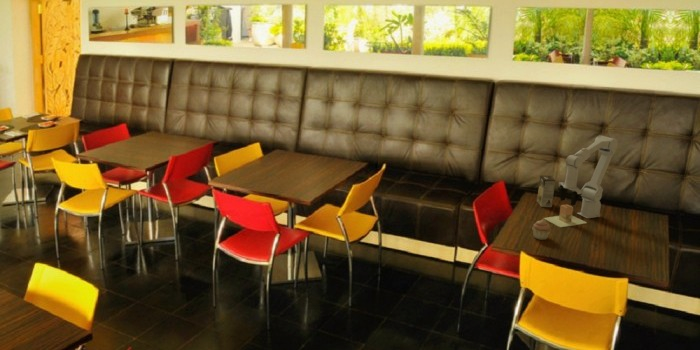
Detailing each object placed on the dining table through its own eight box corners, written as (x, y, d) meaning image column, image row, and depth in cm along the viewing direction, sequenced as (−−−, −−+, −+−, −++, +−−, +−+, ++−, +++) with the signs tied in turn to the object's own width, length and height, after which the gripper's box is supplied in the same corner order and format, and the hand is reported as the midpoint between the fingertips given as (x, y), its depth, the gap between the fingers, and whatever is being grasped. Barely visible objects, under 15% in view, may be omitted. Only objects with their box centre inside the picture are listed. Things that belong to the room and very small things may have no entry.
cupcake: (533, 232, 301) (535, 213, 298) (552, 236, 296) (554, 217, 293) (528, 238, 293) (530, 219, 290) (547, 243, 289) (550, 223, 286)
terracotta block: (566, 211, 319) (567, 204, 317) (572, 214, 315) (573, 207, 314) (559, 212, 317) (560, 205, 316) (565, 215, 313) (566, 208, 312)
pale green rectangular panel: (569, 214, 326) (569, 214, 326) (587, 223, 315) (587, 222, 315) (543, 218, 319) (543, 217, 319) (560, 227, 308) (560, 226, 308)
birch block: (565, 218, 320) (566, 211, 319) (571, 221, 316) (572, 214, 315) (558, 219, 318) (559, 212, 317) (564, 222, 314) (565, 215, 313)
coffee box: (536, 201, 346) (539, 175, 341) (547, 201, 346) (551, 175, 341) (540, 207, 337) (544, 179, 332) (552, 207, 337) (556, 180, 332)
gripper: (555, 174, 315) (552, 198, 319) (575, 182, 302) (571, 208, 306) (566, 173, 318) (562, 197, 322) (586, 181, 305) (582, 206, 309)
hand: (567, 202), depth 314 cm, fingers open, 7 cm apart
